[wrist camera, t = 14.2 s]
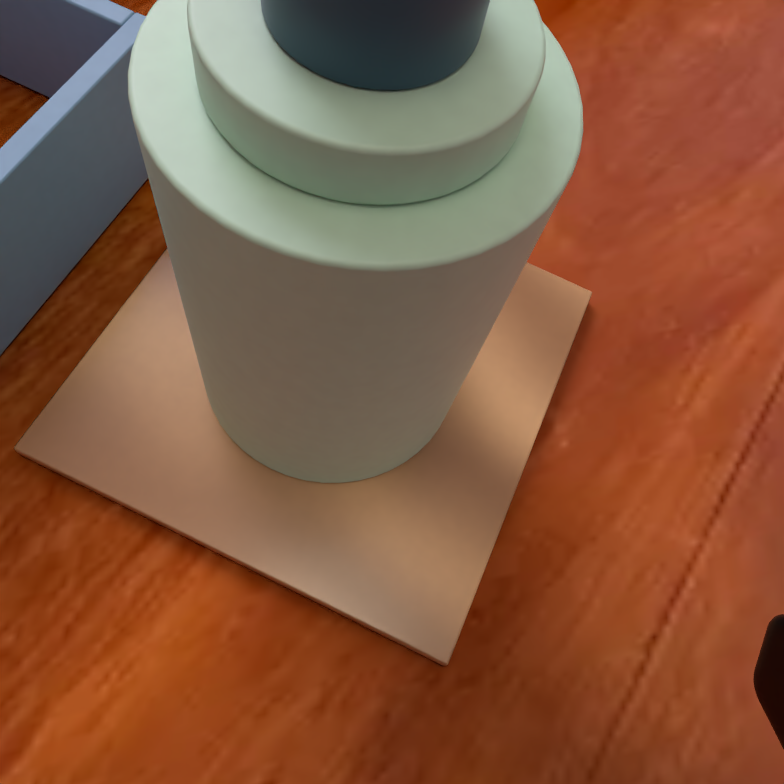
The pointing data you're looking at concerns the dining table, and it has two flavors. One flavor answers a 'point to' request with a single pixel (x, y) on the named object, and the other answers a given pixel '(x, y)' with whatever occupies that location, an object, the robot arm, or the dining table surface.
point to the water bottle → (348, 205)
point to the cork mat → (308, 498)
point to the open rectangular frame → (63, 144)
